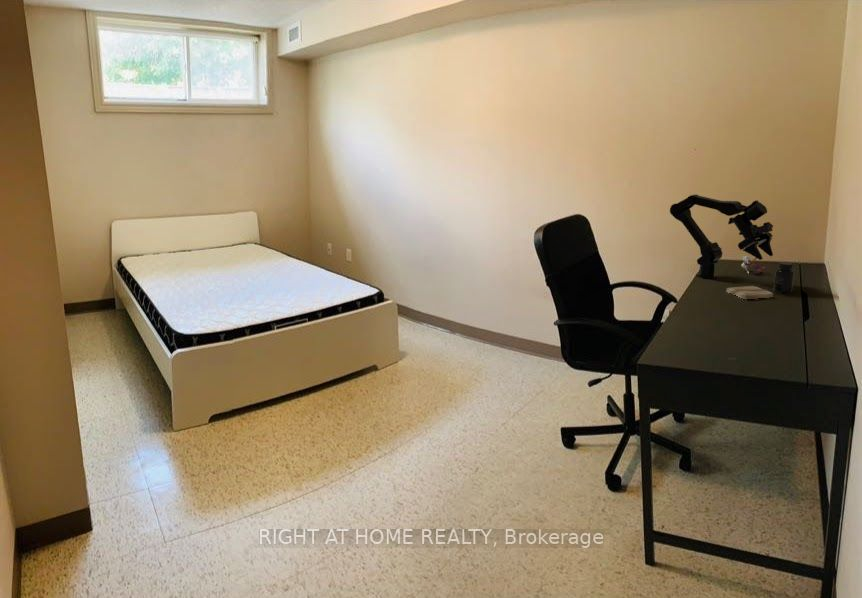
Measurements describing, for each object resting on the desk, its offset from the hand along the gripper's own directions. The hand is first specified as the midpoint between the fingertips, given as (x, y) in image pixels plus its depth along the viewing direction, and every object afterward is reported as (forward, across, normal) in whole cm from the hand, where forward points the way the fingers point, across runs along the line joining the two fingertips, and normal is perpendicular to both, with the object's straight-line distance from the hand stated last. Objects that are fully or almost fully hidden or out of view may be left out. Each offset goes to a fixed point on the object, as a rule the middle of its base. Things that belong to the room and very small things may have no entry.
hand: (766, 257), depth 251 cm
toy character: (0, +22, +20) cm, 30 cm away
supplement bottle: (+15, -1, +2) cm, 16 cm away
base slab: (+11, -15, +7) cm, 20 cm away
